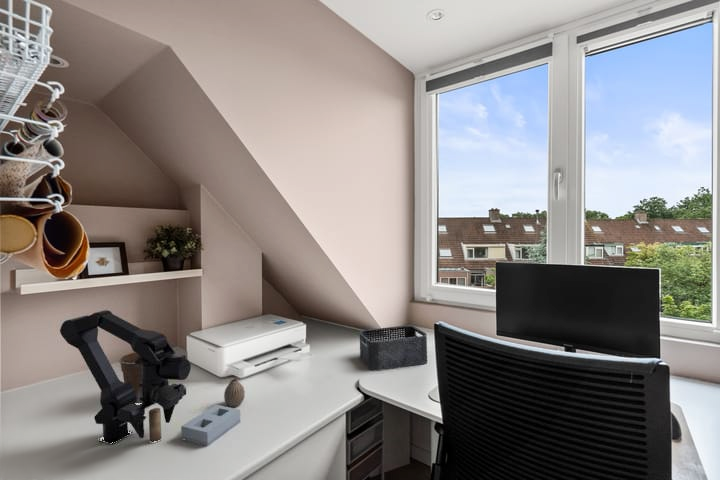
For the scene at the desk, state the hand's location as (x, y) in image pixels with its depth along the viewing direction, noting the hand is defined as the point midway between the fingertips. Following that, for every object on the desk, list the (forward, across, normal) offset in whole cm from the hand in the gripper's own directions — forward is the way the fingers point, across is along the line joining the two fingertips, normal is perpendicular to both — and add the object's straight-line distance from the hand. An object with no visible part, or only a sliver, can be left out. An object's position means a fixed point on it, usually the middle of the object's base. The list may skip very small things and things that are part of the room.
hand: (155, 429), depth 107 cm
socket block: (+3, +10, -12) cm, 16 cm away
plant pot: (+3, +19, +28) cm, 34 cm away
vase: (+3, +26, -7) cm, 27 cm away
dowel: (+3, 0, 0) cm, 3 cm away
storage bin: (+4, +86, -48) cm, 99 cm away
